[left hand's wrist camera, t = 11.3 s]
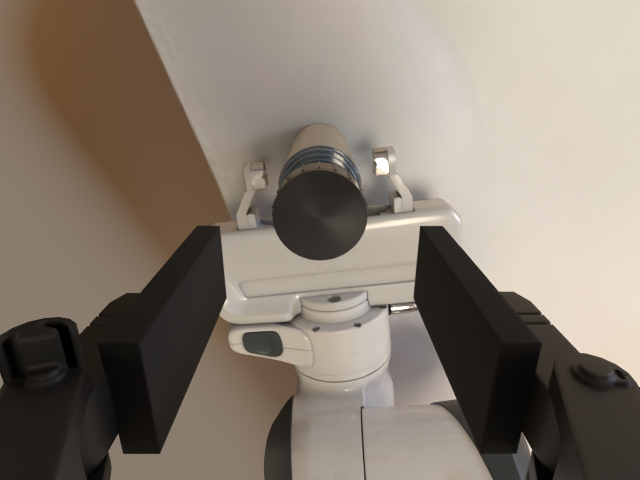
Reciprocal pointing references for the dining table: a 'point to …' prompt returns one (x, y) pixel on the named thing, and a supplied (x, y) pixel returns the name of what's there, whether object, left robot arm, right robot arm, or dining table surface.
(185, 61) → the dining table surface
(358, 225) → the cap
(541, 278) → the dining table surface
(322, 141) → the bottle
